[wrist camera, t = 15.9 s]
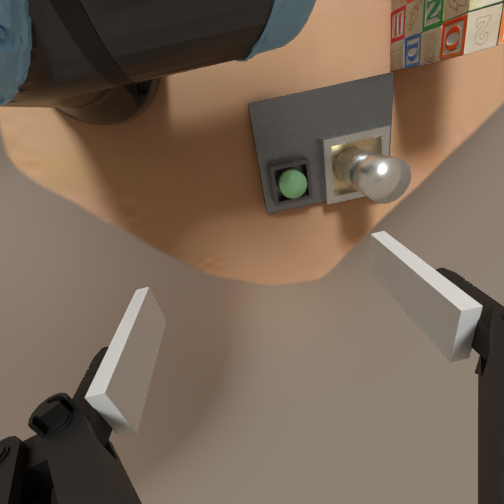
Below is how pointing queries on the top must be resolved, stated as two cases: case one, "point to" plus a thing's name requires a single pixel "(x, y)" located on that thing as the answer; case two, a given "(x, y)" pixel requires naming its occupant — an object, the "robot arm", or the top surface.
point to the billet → (373, 174)
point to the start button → (291, 182)
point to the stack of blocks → (442, 30)
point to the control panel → (320, 136)
